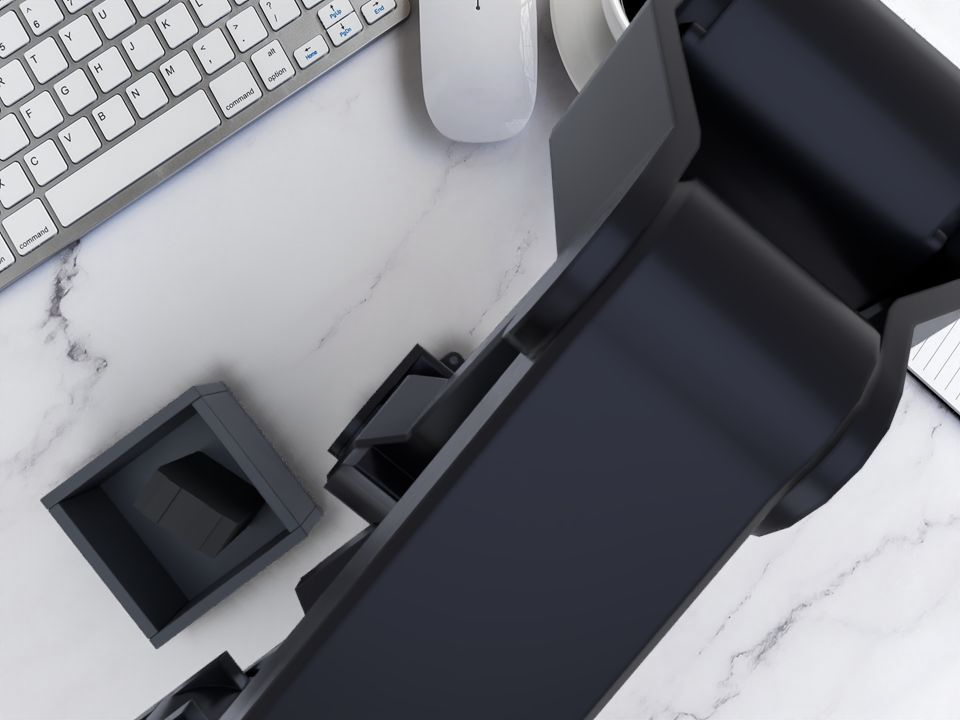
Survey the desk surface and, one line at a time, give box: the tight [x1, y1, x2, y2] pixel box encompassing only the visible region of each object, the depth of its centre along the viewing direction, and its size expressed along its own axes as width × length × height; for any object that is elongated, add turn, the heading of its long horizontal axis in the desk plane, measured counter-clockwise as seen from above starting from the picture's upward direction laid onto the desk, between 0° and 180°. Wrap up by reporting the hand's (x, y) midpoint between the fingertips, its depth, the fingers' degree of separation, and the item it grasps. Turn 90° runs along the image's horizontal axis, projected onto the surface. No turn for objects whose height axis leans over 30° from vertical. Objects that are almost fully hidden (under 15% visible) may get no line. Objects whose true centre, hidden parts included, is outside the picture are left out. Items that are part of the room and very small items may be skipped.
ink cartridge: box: [133, 451, 265, 559], centre depth 47 cm, size 5×2×8 cm, turn 55°
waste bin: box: [39, 380, 325, 650], centre depth 48 cm, size 10×10×6 cm
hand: (274, 656), depth 39 cm, fingers open, 9 cm apart
